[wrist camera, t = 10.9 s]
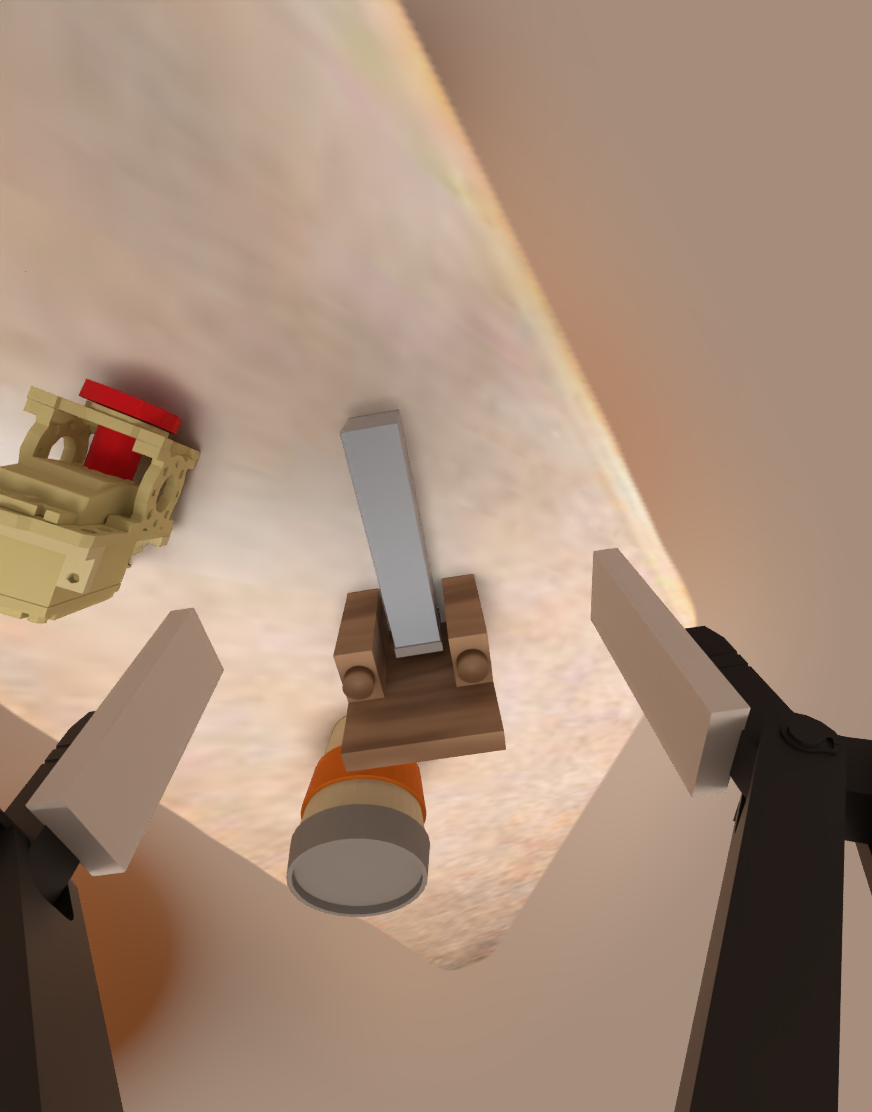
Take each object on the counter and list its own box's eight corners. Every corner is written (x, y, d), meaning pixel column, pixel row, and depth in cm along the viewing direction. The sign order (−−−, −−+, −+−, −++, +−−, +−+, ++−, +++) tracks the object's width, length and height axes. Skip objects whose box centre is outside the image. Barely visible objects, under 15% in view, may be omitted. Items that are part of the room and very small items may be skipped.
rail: (347, 418, 36) (338, 434, 32) (400, 409, 36) (398, 423, 32) (398, 623, 46) (396, 657, 41) (440, 616, 45) (443, 650, 41)
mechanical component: (235, 409, 42) (145, 323, 22) (168, 589, 42) (23, 657, 23) (144, 372, 40) (-38, 243, 21) (76, 560, 40) (-167, 607, 21)
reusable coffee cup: (347, 681, 49) (323, 818, 36) (447, 722, 52) (459, 862, 39) (297, 752, 54) (259, 897, 40) (392, 786, 57) (386, 930, 44)
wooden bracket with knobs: (347, 593, 44) (322, 704, 31) (473, 574, 43) (497, 678, 31) (364, 650, 47) (346, 772, 35) (481, 633, 47) (506, 749, 34)
